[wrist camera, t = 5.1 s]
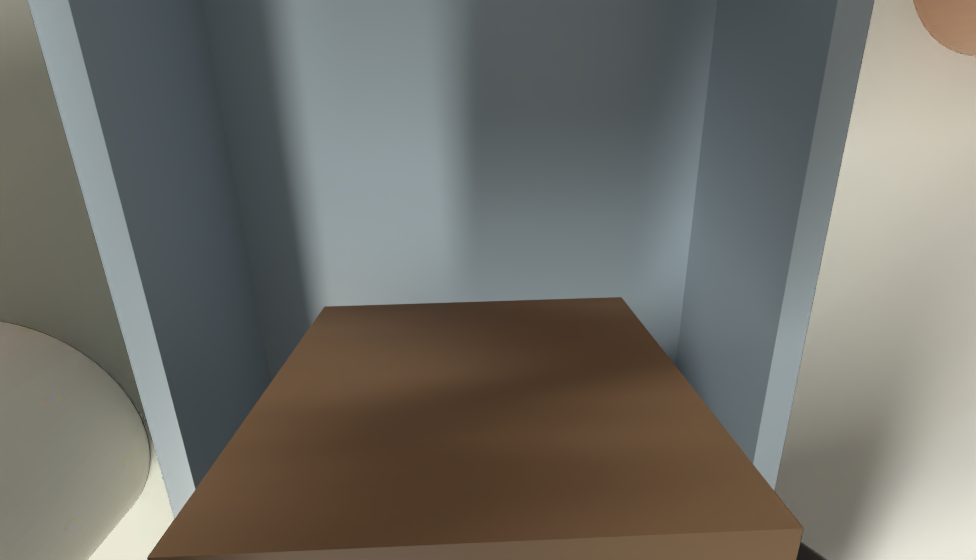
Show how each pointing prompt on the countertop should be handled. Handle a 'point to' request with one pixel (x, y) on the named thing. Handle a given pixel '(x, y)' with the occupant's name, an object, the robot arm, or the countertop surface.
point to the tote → (453, 179)
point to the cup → (63, 449)
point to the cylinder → (950, 23)
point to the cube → (481, 447)
